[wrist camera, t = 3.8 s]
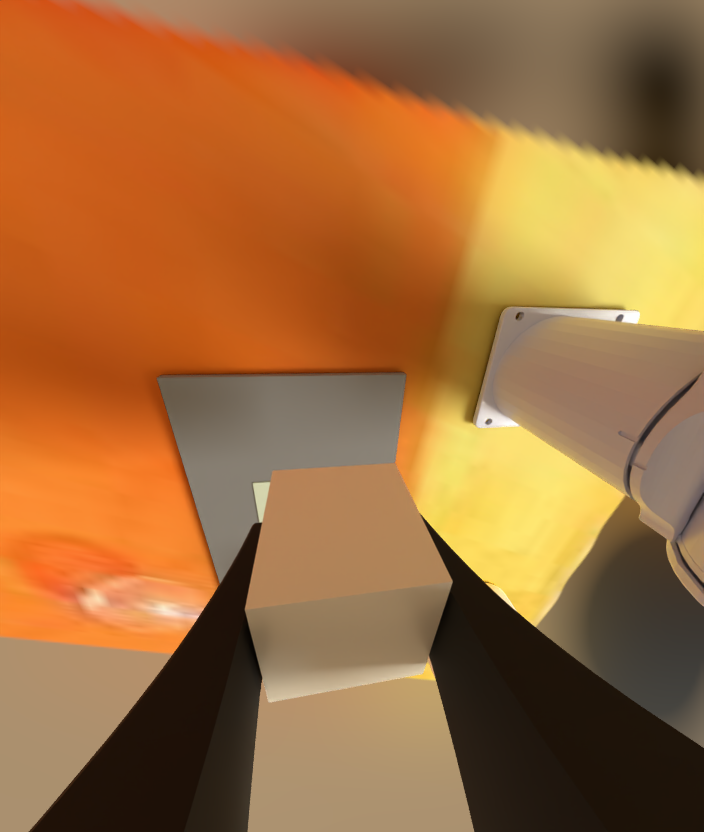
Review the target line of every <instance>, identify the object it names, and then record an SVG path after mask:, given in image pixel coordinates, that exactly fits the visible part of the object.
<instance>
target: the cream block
mask: <svg viewBox="0 0 704 832" xmlns="http://www.w3.org/2000/svg"><path fill="white" fill-rule="evenodd" d="M452 583H453V581H452V579H451V577H450V575H449V573H448V571H447V569H446V567H445V565H444V563H443V560H442V558H441V556H440V554H439V552H438V550H437V548H436V546H435V544H434V542H433V540H432V538H431V536H430V534H429V532H428V530H427V528H426V526H425V523H424V521H423V519H422V517H421V515H420V513H419V511H418V509H417V507H416V505H415V503H414V501H413V499H412V497H411V495H410V493H409V491H408V489H407V487H406V484H405V482H404V480H403V478H402V476H401V474H400V472H399V470H398V468H397V466H396V464H395V463H386V464H371V465H355V466H339V467H323V468H307V469H291V470H275V471H272V476H271V481H270V486H269V491H268V496H267V501H266V506H265V511H264V516H263V521H262V526H261V531H260V536H259V541H258V546H257V551H256V556H255V561H254V566H253V571H252V576H251V581H250V586H249V591H248V596H247V601H246V606H245V613H246V616H247V620H248V624H249V628H250V632H251V636H252V640H253V644H254V647H255V651H256V655H257V659H258V663H259V667H260V671H261V675H262V678H263V682H264V686H265V690H266V694H267V698H268V702H275V701H280V700H286V699H291V698H296V697H302V696H307V695H312V694H318V693H323V692H328V691H334V690H339V689H344V688H350V687H355V686H361V685H366V684H371V683H376V682H382V681H387V680H393V679H398V678H403V677H409V676H414V675H419V674H423V672H424V669H425V666H426V662H427V659H428V656H429V653H430V650H431V647H432V644H433V641H434V638H435V635H436V632H437V629H438V626H439V623H440V619H441V616H442V613H443V610H444V607H445V604H446V601H447V598H448V595H449V592H450V589H451V586H452Z"/></svg>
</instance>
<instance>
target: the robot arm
mask: <svg viewBox="0 0 704 832" xmlns="http://www.w3.org/2000/svg"><path fill="white" fill-rule="evenodd" d="M517 313H519V317H518V319H516V315H517ZM639 317H640V313H639V311H637V310H615V309H580V308H545V307H507V308H506V309H504V310H503V312H502V314H501V316H500V320H499V324H498V327H497V331H496V335H495V339H494V343H493V346H492V350H491V354H490V358H489V362H488V365H487V369H486V373H485V377H484V380H483V384H482V388H481V392H480V396H479V399H478V403H477V407H476V411H475V415H474V418H473V424H474V425H475V426H476V427H478V428H491V427H513V426H521V427H523V428H525V429H526V430H528V431H529V432H531V433H532V434H534V435H535V436H537V437H538V438H540V439H541V440H543V441H544V442H546V443H547V444H549V445H550V446H552V447H553V448H555V449H557V450H558V451H560V452H561V453H563V454H564V455H566V456H567V457H569V458H570V459H572V460H573V461H575V462H576V463H578V464H579V465H581V466H582V467H584V468H585V469H587V470H589V471H590V472H592V473H593V474H595V475H596V476H598V477H599V478H601V479H602V480H604V481H605V482H607V483H608V484H610V485H611V486H613V487H614V488H616V489H618V490H619V491H621V492H622V493H624V494H625V495H627V496H628V497H630V498H631V499H633V500H635V501H636V502H637V503H638V504H639V505H640V507H641V512H640V515H639V520H641V521H642V522H644V523H645V524H646V525H648V526H649V527H651V528H652V529H654V530H655V531H656V532H658V533H659V534H661V535H662V536H664V537H665V538H667V546H666V550H667V555H668V559H669V562H670V564H671V566H672V568H673V570H674V572H675V573H676V575H677V576H678V578H679V579H680V581H681V582H682V584H683V585H684V586H685V587H686V589H687V590H688V591H689V592H690V593H691V594H692V595H693V597H694V598H695V599H696V600H697V601H698V602H699V603H700V604H701V605H702V606H704V331H698V330H689V329H680V328H671V327H662V326H653V325H644V324H637V322H638V320H639ZM487 419H489V420H488V421H487V422H486V420H487ZM420 515H421V514H420ZM421 517H422V519H423V521H424V523H425V526H426V528H427V530H428V532H429V534H430V536H431V538H432V540H433V542H434V544H435V546H436V548H437V550H438V552H439V554H440V556H441V558H442V560H443V563H444V565H445V567H446V569H447V571H448V573H449V575H450V577H451V579H452V581H453V583H452V586H451V589H450V592H449V595H448V598H447V601H446V604H445V607H444V610H443V613H442V616H441V619H440V623H439V626H438V629H437V632H436V635H435V638H434V641H433V644H432V647H431V650H430V653H429V658H430V661H431V664H432V667H433V671H434V675H435V678H436V682H437V685H438V689H439V693H440V696H441V700H442V704H443V707H444V711H445V715H446V719H447V722H448V726H449V730H450V734H451V738H452V742H453V745H454V749H455V753H456V757H457V762H458V765H459V769H460V774H461V778H462V782H463V786H464V790H465V794H466V798H467V802H468V806H469V810H470V815H471V819H472V823H473V828H474V832H704V748H703V747H701V746H700V745H698V744H697V743H695V742H694V741H692V740H691V739H689V738H688V737H686V736H685V735H683V734H682V733H680V732H679V731H677V730H676V729H674V728H673V727H671V726H670V725H668V724H667V723H665V722H664V721H662V720H661V719H659V718H658V717H656V716H655V715H653V714H652V713H650V712H649V711H647V710H646V709H644V708H643V707H641V706H640V705H638V704H637V703H635V702H634V701H632V700H631V699H630V698H628V697H627V696H625V695H624V694H623V693H621V692H620V691H618V690H617V689H616V688H614V687H613V686H612V685H610V684H609V683H607V682H606V681H605V680H603V679H602V678H600V677H599V676H598V675H596V674H595V673H593V672H592V671H591V670H589V669H588V668H587V667H585V666H584V665H583V664H582V663H580V662H579V661H578V660H576V659H575V658H574V657H572V656H571V655H570V654H569V653H567V652H566V651H565V650H563V649H562V648H561V647H559V646H558V645H557V644H556V643H554V642H553V641H552V640H550V639H549V638H548V637H546V636H545V635H544V634H543V633H542V632H540V631H539V630H538V629H537V628H536V627H534V626H533V625H532V624H531V623H530V622H528V621H527V620H526V619H525V618H524V617H522V616H521V615H520V614H519V613H518V612H517V611H515V610H514V609H513V608H512V607H511V606H510V605H509V604H507V603H506V602H505V601H504V600H503V599H502V598H501V597H500V596H499V595H498V594H496V593H495V592H494V591H493V590H492V589H491V588H490V587H489V586H488V585H487V584H486V583H485V582H484V581H483V580H482V579H481V578H480V577H479V576H478V575H477V574H476V573H475V572H474V571H473V570H472V569H471V568H470V567H469V566H468V565H467V564H466V563H465V562H464V561H463V560H462V559H461V558H460V557H459V556H458V555H457V554H456V553H455V552H454V551H453V550H452V549H451V548H450V547H449V546H448V544H447V543H446V542H445V541H444V540H443V539H442V538H441V537H440V536H439V535H438V533H437V532H436V531H435V530H434V529H433V528H432V527H431V526H430V524H429V523H428V522H427V521H426V520H425V519H424V518H423V516H422V515H421ZM261 526H262V522H260V523H254V524H253V525H252V527H251V529H250V531H249V533H248V535H247V537H246V539H245V541H244V543H243V545H242V547H241V549H240V550H239V552H238V554H237V556H236V558H235V559H234V561H233V563H232V565H231V566H230V568H229V570H228V571H227V573H226V575H225V576H224V578H223V580H222V581H221V583H220V585H219V586H218V588H217V590H216V591H215V593H214V595H213V596H212V598H211V599H210V601H209V602H208V604H207V605H206V607H205V608H204V610H203V611H202V613H201V614H200V616H199V617H198V619H197V621H196V622H195V624H194V625H193V627H192V628H191V629H190V631H189V632H188V634H187V635H186V637H185V638H184V640H183V641H182V642H181V644H180V645H179V647H178V648H177V649H176V651H175V652H174V654H173V655H172V656H171V658H170V659H169V660H168V662H167V663H166V665H165V666H164V667H163V669H162V670H161V671H160V673H159V674H158V675H157V677H156V678H155V679H154V681H153V682H152V683H151V684H150V686H149V687H148V688H147V690H146V691H145V692H144V693H143V695H142V696H141V697H140V699H139V700H138V701H137V703H136V704H135V705H134V706H133V708H132V709H131V710H130V711H129V713H128V714H127V715H126V717H125V718H124V719H123V720H122V722H121V723H120V724H119V725H118V727H117V728H116V729H115V730H114V732H113V733H112V734H111V735H110V736H109V738H108V739H107V740H106V741H105V743H104V744H103V745H102V746H101V747H100V749H99V750H98V751H97V752H96V753H95V755H94V756H93V757H92V758H91V759H90V761H89V762H88V763H87V764H86V765H85V766H84V768H83V769H82V770H81V771H80V773H78V775H77V776H76V777H75V778H74V780H73V781H72V782H71V783H70V784H69V786H68V787H67V788H66V789H65V790H64V791H63V792H62V794H61V795H60V796H59V797H58V798H57V800H56V801H55V802H54V803H53V804H52V806H51V807H50V808H49V809H48V810H47V811H46V813H45V814H44V815H43V816H42V817H41V818H40V820H39V821H38V822H37V823H36V824H35V825H34V827H33V828H32V829H31V830H30V831H29V832H247V830H248V818H249V805H250V794H251V782H252V772H253V761H254V749H255V738H256V728H257V718H258V707H259V696H260V690H261V683H262V675H261V671H260V667H259V663H258V659H257V655H256V651H255V647H254V644H253V640H252V636H251V632H250V628H249V624H248V620H247V616H246V613H245V606H246V601H247V596H248V591H249V586H250V581H251V576H252V571H253V566H254V561H255V556H256V551H257V546H258V541H259V536H260V531H261Z"/></svg>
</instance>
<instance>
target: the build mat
mask: <svg viewBox="0 0 704 832" xmlns="http://www.w3.org/2000/svg"><path fill="white" fill-rule="evenodd" d="M157 381H158V384H159V387H160V390H161V394H162V397H163V400H164V403H165V407H166V410H167V413H168V417H169V420H170V423H171V426H172V430H173V433H174V436H175V439H176V443H177V446H178V449H179V452H180V456H181V459H182V462H183V465H184V469H185V472H186V475H187V478H188V482H189V485H190V488H191V491H192V495H193V498H194V501H195V504H196V508H197V511H198V514H199V517H200V521H201V524H202V527H203V530H204V534H205V537H206V540H207V543H208V547H209V550H210V553H211V556H212V560H213V563H214V566H215V569H216V573H217V576H218V579H219V582H220V583H221V581H222V580H223V578H224V576H225V575H226V573H227V571H228V570H229V568H230V566H231V565H232V563H233V561H234V559H235V558H236V556H237V554H238V552H239V550H240V549H241V547H242V545H243V543H244V541H245V539H246V537H247V535H248V533H249V531H250V529H251V527H252V525H253V524H254V523H260V522H262V521H263V516H264V511H265V506H266V501H267V496H268V491H269V486H270V481H271V476H272V471H275V470H291V469H307V468H323V467H339V466H355V465H371V464H386V463H395V460H396V452H397V444H398V436H399V428H400V420H401V413H402V405H403V397H404V389H405V381H406V374H405V373H404V372H386V373H299V374H212V375H161V376H159V377H157Z"/></svg>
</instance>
